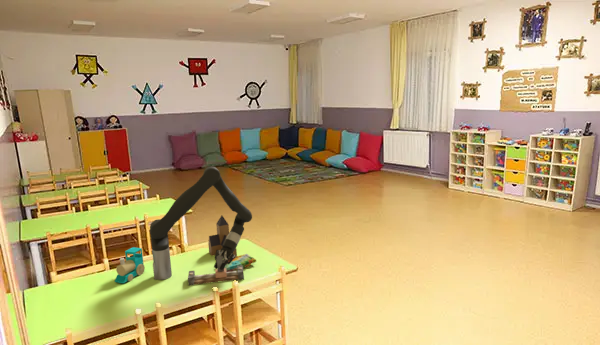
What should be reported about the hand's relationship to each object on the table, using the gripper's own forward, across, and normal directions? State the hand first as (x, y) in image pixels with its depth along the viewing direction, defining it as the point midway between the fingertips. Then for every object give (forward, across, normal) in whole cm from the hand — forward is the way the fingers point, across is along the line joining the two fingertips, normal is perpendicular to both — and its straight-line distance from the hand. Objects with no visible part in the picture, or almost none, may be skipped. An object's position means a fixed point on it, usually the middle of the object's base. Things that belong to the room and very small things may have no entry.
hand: (218, 268), depth 227 cm
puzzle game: (-8, -3, +18) cm, 20 cm away
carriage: (+2, 0, +5) cm, 5 cm away
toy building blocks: (-14, -23, +24) cm, 36 cm away
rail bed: (+4, -2, +5) cm, 7 cm away
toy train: (+22, -47, -12) cm, 53 cm away
